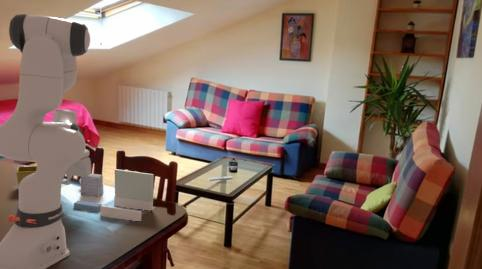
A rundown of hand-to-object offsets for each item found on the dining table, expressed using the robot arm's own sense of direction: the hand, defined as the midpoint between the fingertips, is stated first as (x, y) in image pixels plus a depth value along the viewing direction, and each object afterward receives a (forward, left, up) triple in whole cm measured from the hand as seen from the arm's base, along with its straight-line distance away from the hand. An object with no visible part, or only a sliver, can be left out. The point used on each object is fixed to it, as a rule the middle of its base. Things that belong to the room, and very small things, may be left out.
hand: (65, 184), depth 154 cm
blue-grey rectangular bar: (-1, -10, -9) cm, 13 cm away
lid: (+5, -26, +1) cm, 27 cm away
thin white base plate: (0, -26, -8) cm, 27 cm away
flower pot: (+10, +24, -9) cm, 27 cm away
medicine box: (+14, -3, -9) cm, 17 cm away
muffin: (+20, +3, -9) cm, 22 cm away
